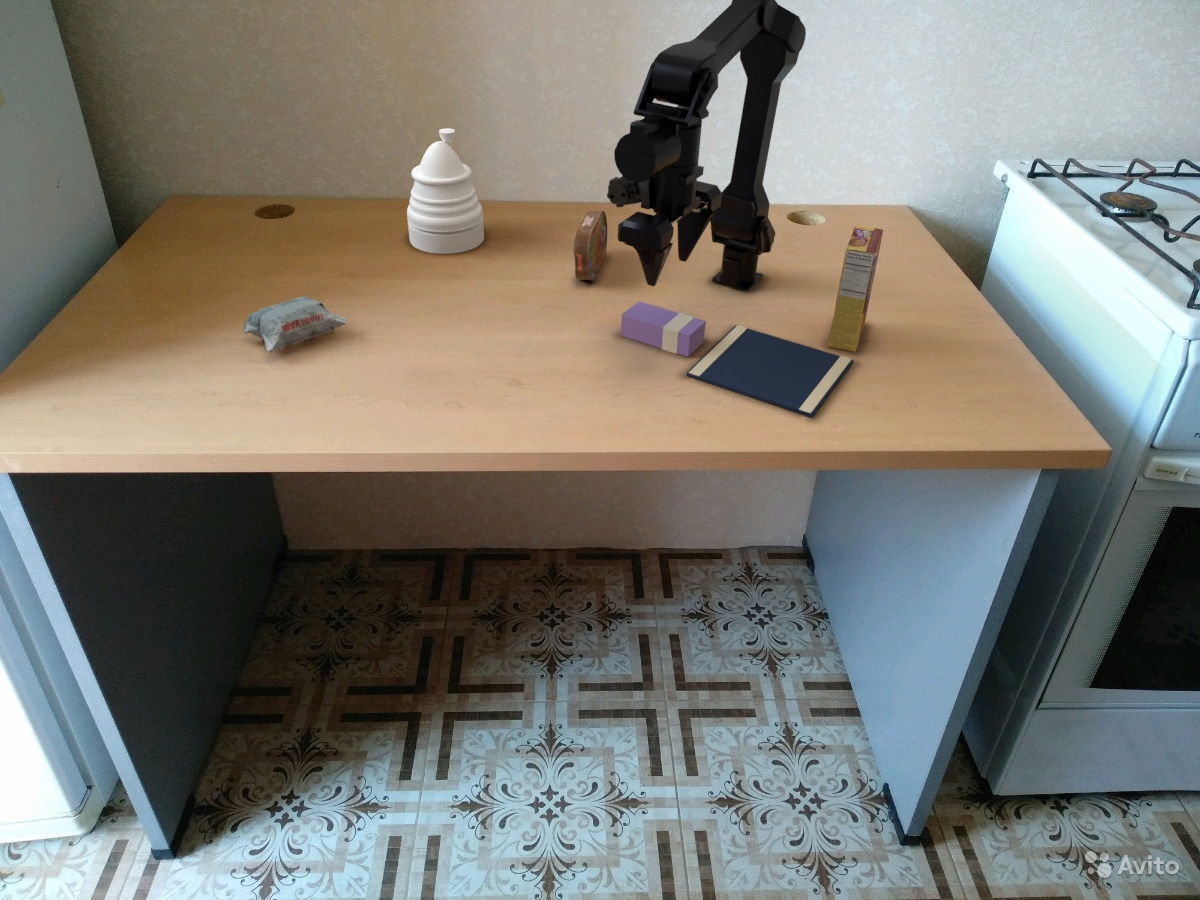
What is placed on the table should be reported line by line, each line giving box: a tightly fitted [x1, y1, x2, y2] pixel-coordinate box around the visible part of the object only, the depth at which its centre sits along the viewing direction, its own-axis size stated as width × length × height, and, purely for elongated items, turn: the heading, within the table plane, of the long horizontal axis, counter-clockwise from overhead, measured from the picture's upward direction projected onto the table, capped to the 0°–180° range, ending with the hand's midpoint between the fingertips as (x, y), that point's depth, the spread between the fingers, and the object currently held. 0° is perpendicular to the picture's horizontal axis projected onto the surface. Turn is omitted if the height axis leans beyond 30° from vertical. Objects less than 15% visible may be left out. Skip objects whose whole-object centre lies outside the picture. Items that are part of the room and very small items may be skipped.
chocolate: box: [620, 301, 707, 358], centre depth 127 cm, size 5×11×4 cm, turn 58°
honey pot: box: [406, 127, 485, 255], centre depth 149 cm, size 13×13×18 cm
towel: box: [686, 324, 854, 419], centre depth 122 cm, size 16×18×1 cm
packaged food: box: [242, 295, 348, 354], centre depth 124 cm, size 9×12×5 cm
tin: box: [573, 210, 608, 282], centre depth 144 cm, size 15×3×8 cm, turn 168°
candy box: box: [827, 225, 884, 353], centre depth 126 cm, size 9×4×15 cm, turn 158°
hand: (667, 272), depth 122 cm, fingers open, 9 cm apart
